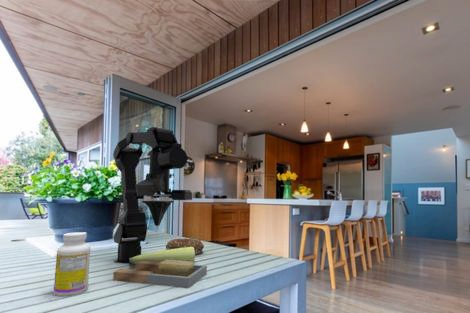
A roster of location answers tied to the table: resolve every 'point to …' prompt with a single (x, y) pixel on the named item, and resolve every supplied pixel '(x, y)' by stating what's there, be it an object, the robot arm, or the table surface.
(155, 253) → the tube
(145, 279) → the slot board
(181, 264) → the brass block
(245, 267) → the table surface
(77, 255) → the supplement bottle
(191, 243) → the donut
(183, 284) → the tray
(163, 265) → the brass block
